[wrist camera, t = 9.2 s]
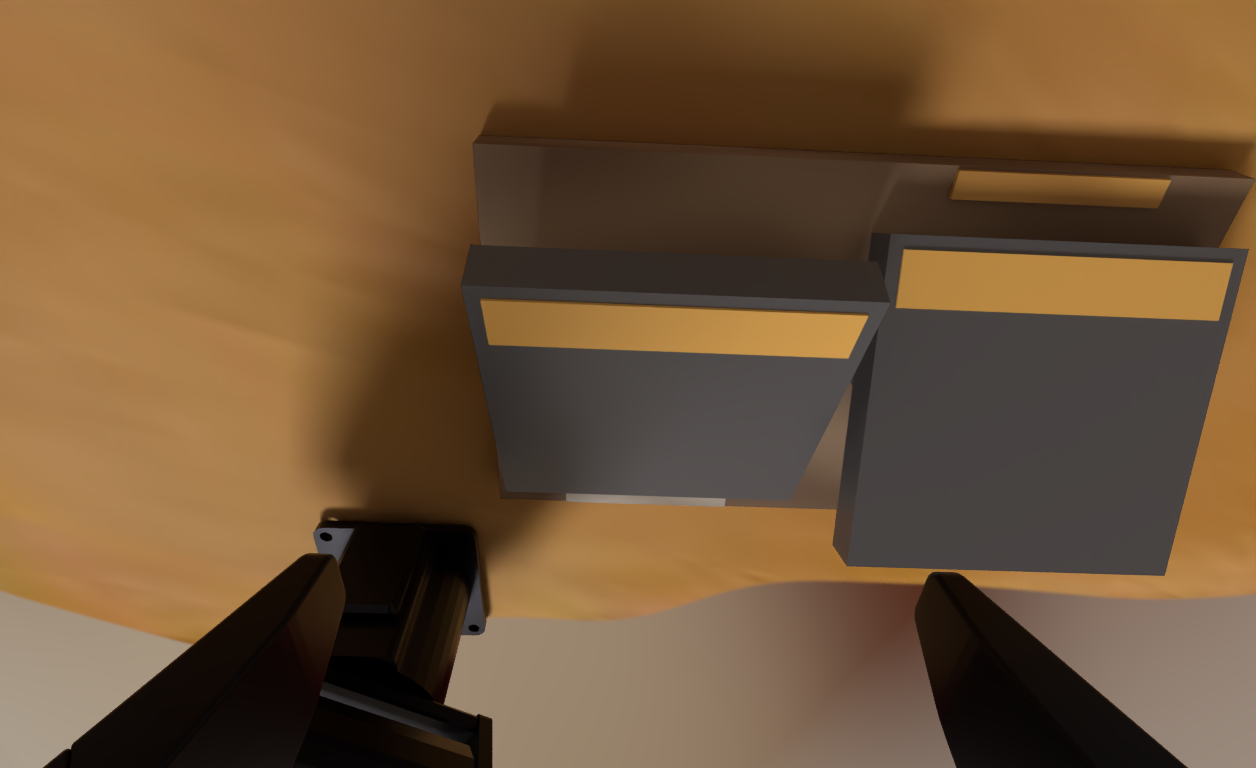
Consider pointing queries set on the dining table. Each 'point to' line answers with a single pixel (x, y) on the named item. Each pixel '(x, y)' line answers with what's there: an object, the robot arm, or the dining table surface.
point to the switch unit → (820, 220)
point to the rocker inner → (664, 366)
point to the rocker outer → (1031, 403)
